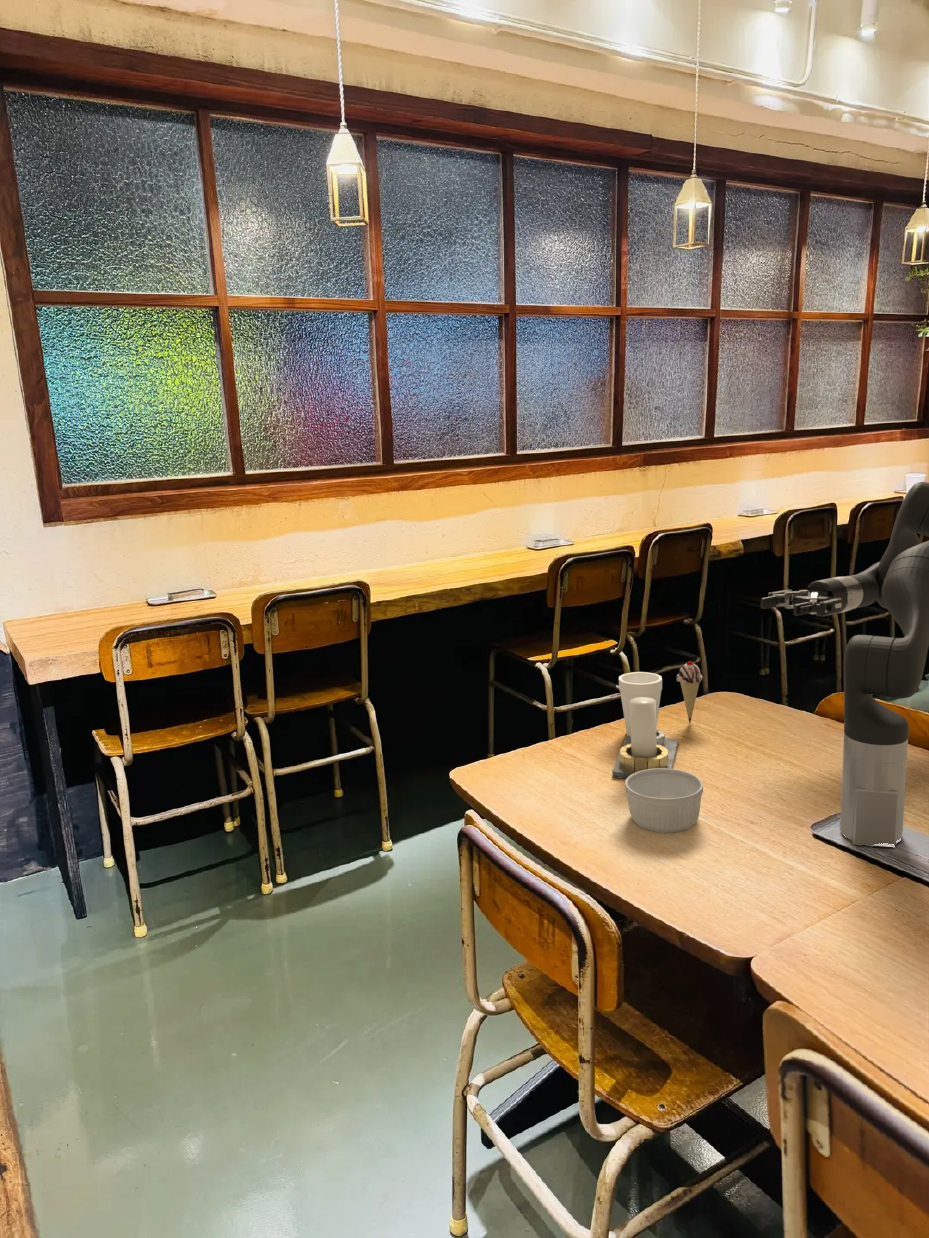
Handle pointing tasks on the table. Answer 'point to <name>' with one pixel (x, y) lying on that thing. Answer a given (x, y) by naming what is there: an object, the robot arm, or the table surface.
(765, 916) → the table surface
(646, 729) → the white rounded cylinder
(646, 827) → the ramekin
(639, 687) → the foam cup
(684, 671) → the ice cream cone
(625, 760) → the grey ring holder base
